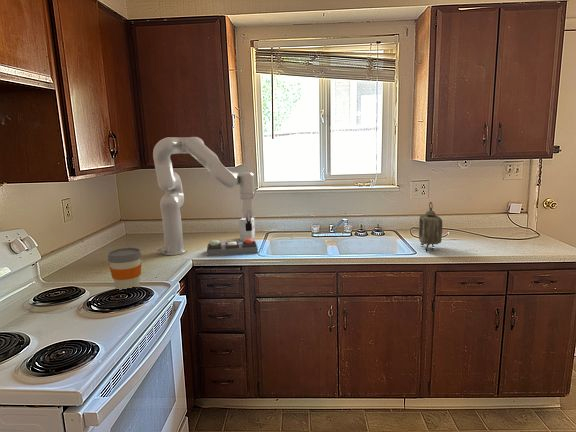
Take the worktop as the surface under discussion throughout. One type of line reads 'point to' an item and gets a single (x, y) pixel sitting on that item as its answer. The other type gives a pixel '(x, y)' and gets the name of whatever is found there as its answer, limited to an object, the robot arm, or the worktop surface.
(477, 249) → the worktop surface
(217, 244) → the sage button
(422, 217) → the dark metal lantern
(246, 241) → the red button
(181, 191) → the robot arm
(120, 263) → the reusable coffee cup
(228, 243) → the ivory button
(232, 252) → the button panel
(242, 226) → the supplement box
